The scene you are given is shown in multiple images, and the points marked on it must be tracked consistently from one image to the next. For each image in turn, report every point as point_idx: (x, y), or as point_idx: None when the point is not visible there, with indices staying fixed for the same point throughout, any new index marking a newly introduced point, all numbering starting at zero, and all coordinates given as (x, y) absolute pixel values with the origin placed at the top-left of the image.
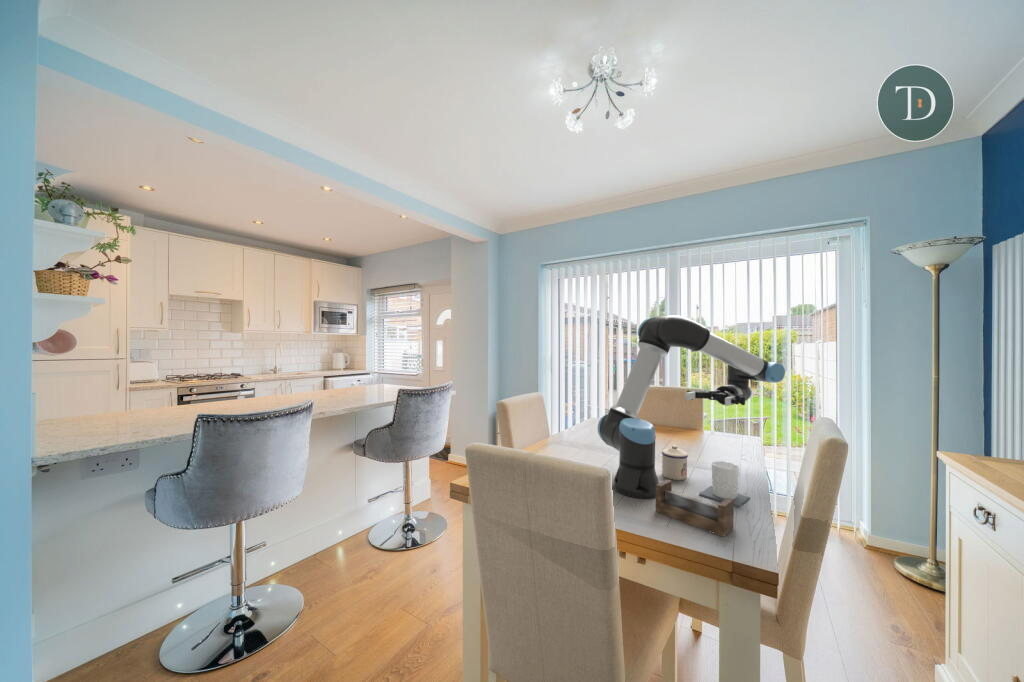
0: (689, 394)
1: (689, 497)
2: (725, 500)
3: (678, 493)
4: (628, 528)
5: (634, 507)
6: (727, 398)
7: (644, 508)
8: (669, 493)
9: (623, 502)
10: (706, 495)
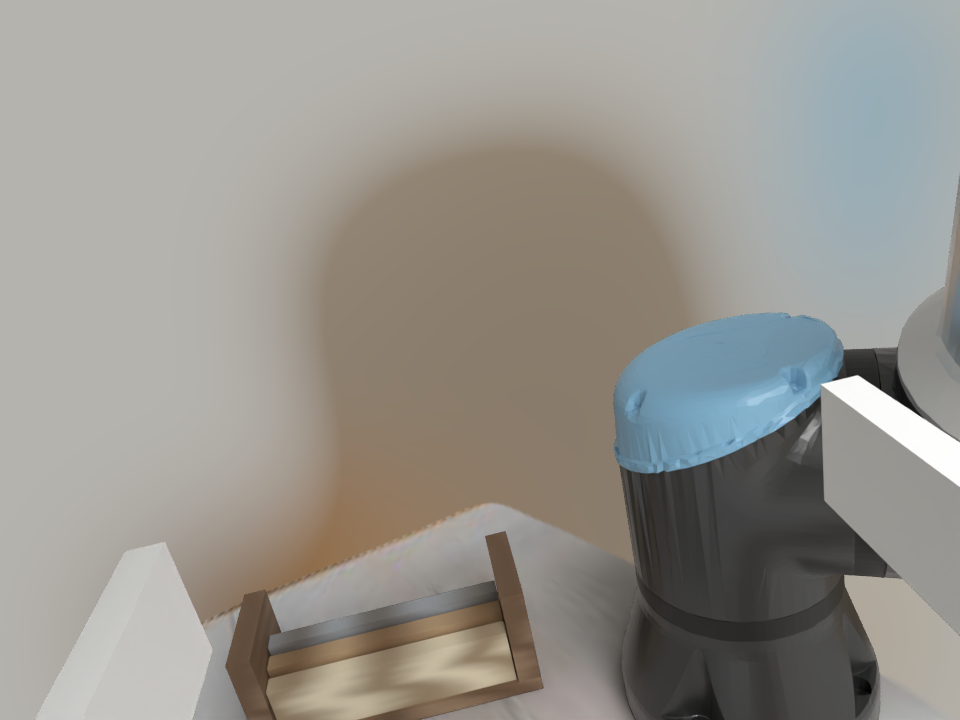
0: (871, 454)
1: (397, 614)
2: (251, 634)
3: (458, 621)
4: (492, 511)
5: (586, 581)
6: (126, 559)
7: (563, 602)
8: (474, 588)
9: None
10: None
